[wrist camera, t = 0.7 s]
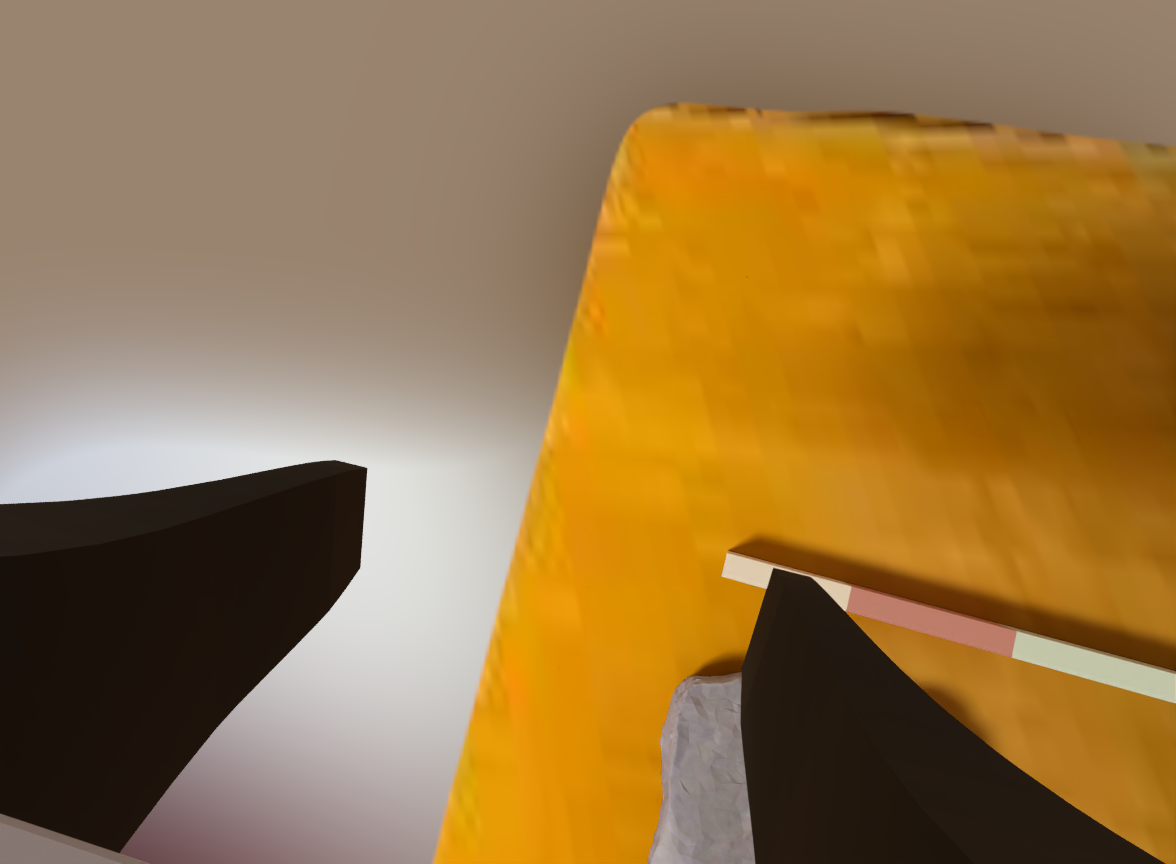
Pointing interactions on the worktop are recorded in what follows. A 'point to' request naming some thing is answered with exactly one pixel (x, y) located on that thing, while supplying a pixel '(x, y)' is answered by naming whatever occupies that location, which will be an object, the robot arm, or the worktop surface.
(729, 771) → the stone block
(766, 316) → the worktop surface
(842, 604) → the trap lane
